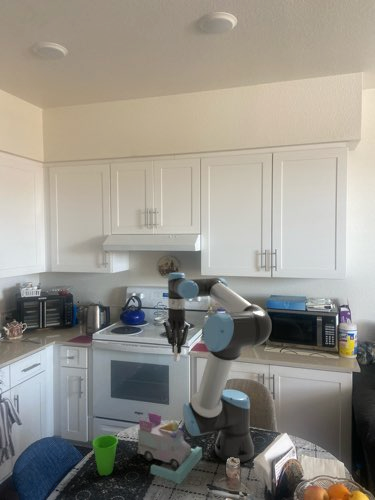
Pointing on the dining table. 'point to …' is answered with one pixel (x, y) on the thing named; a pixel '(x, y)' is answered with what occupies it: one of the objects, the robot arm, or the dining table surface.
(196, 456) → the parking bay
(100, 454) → the cup
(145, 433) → the toy vehicle
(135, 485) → the dining table surface
